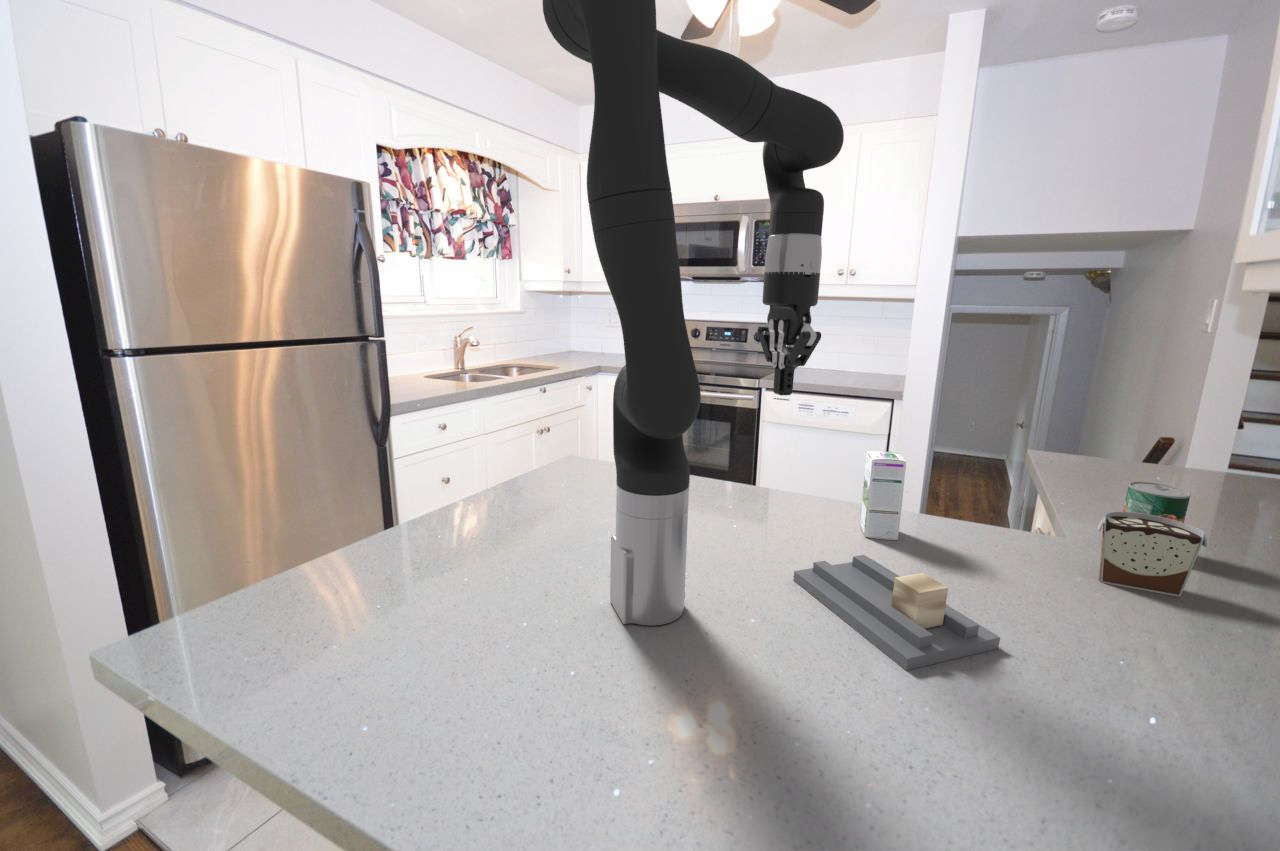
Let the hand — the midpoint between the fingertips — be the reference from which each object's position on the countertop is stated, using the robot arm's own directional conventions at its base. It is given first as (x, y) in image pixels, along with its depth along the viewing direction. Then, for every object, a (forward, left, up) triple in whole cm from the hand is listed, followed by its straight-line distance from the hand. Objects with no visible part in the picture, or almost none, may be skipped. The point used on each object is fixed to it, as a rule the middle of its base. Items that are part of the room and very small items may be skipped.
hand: (782, 394), depth 83 cm
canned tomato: (+66, -13, -27) cm, 73 cm away
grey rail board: (+8, -16, -27) cm, 32 cm away
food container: (+51, -20, -27) cm, 61 cm away
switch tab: (+8, -21, -25) cm, 34 cm away
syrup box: (+26, +6, -27) cm, 38 cm away
